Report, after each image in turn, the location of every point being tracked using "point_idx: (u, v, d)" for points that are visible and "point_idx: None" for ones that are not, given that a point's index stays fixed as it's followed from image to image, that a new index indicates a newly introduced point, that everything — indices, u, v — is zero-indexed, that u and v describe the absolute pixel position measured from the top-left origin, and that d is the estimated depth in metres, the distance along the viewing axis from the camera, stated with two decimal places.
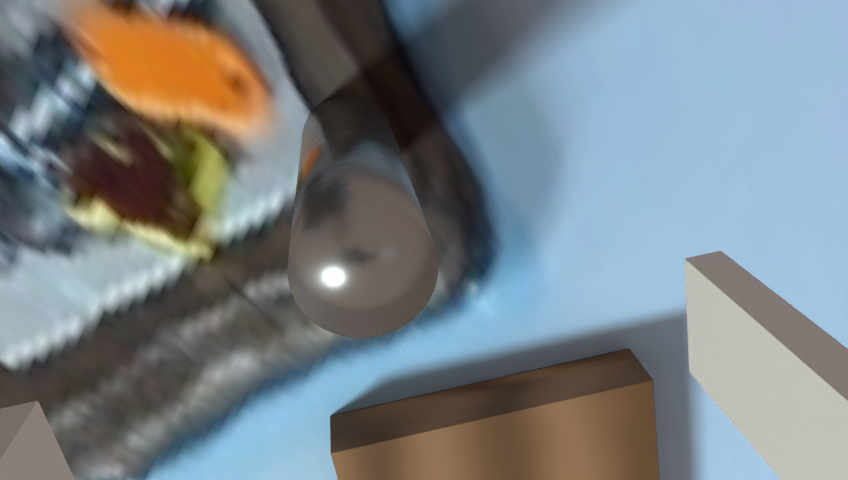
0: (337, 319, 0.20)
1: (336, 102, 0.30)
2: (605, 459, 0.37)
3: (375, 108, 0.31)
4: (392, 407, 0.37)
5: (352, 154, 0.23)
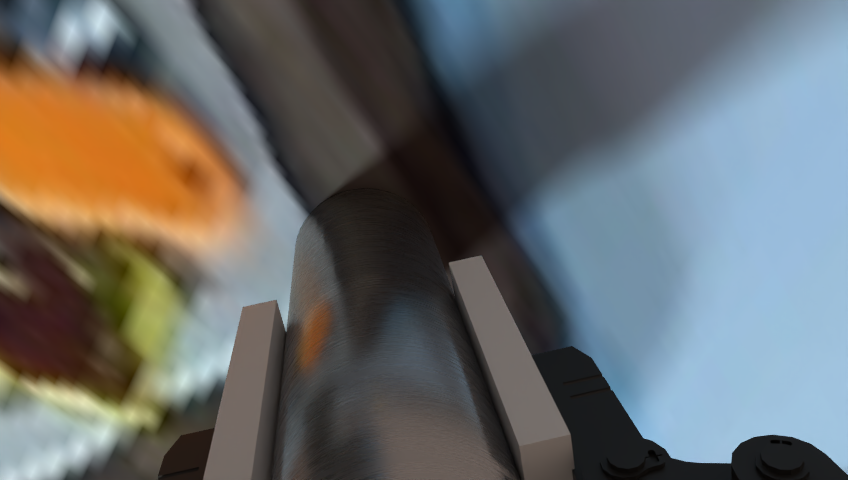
0: None
1: (348, 205, 0.19)
2: None
3: (409, 212, 0.20)
4: None
5: (387, 377, 0.11)
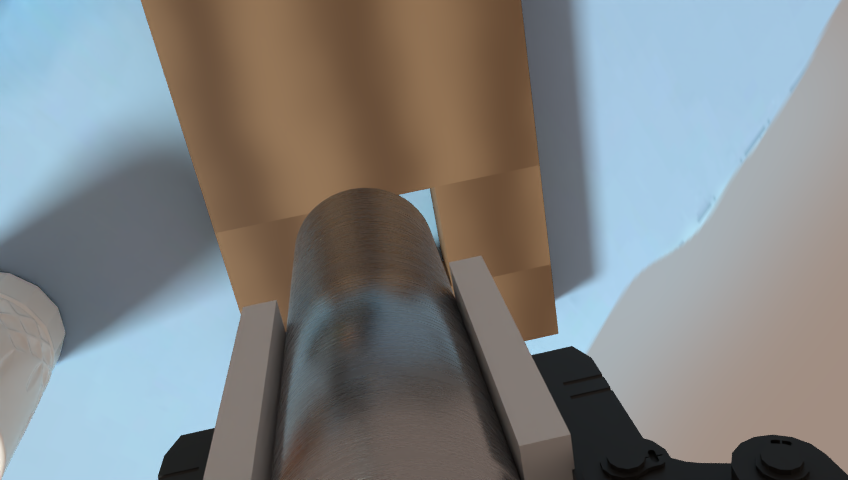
0: None
1: (348, 204, 0.19)
2: (460, 4, 0.32)
3: (409, 211, 0.20)
4: None
5: (386, 374, 0.11)
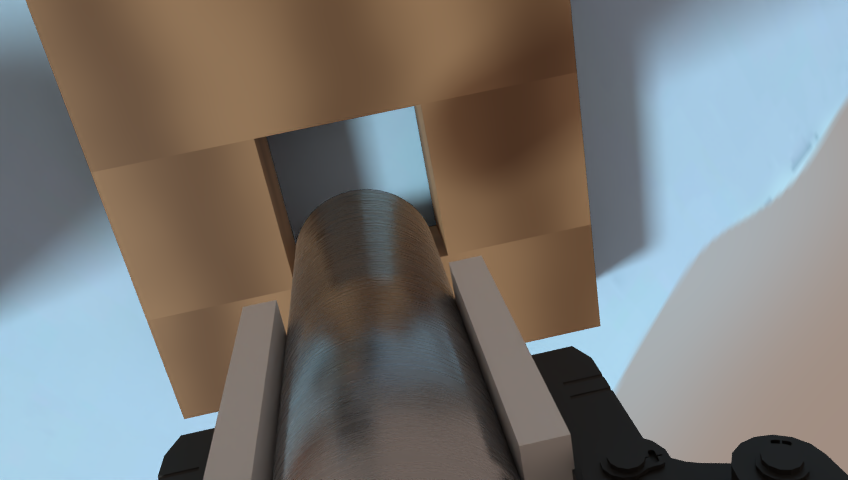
0: None
1: (349, 206, 0.19)
2: None
3: (410, 213, 0.20)
4: None
5: (387, 376, 0.11)
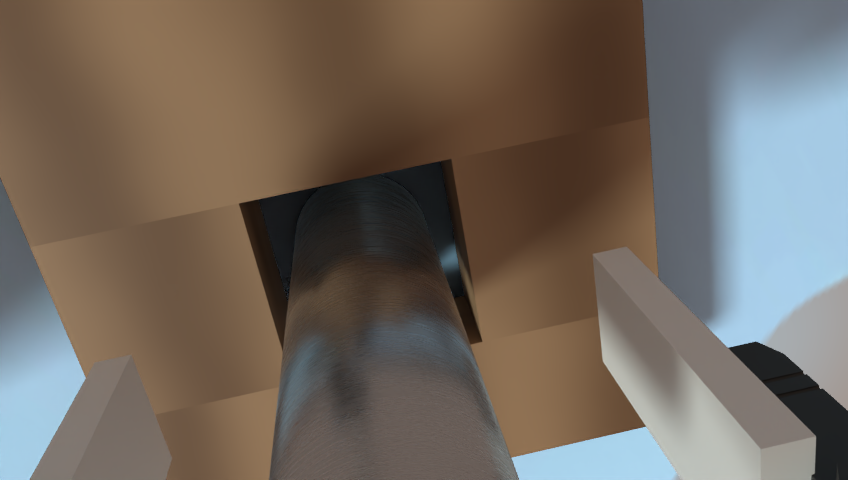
0: None
1: (345, 188, 0.20)
2: None
3: (403, 195, 0.21)
4: None
5: (378, 330, 0.13)
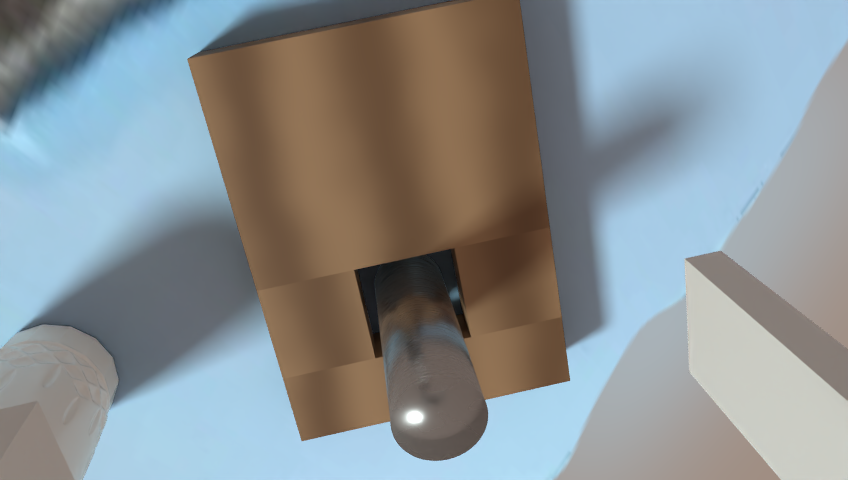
0: (421, 449, 0.30)
1: (402, 260, 0.41)
2: (476, 88, 0.36)
3: (430, 262, 0.41)
4: (261, 40, 0.37)
5: (425, 326, 0.33)
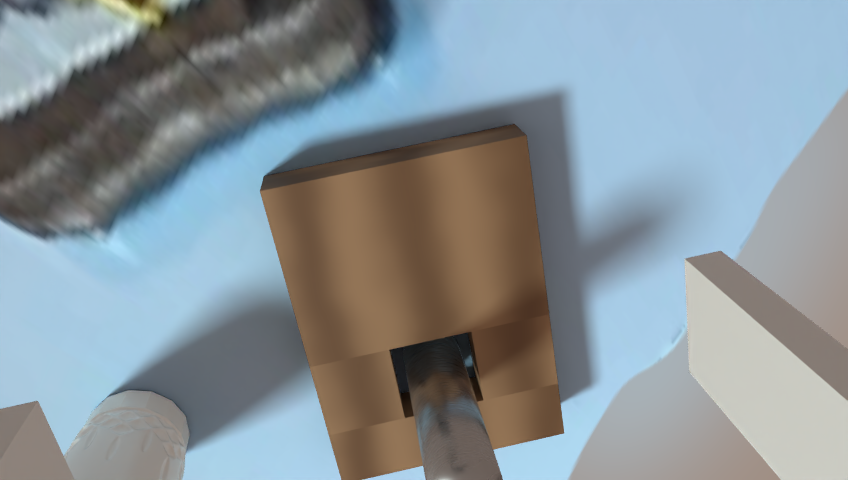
0: None
1: None
2: (491, 208, 0.45)
3: (450, 338, 0.50)
4: (315, 167, 0.45)
5: (452, 408, 0.42)
